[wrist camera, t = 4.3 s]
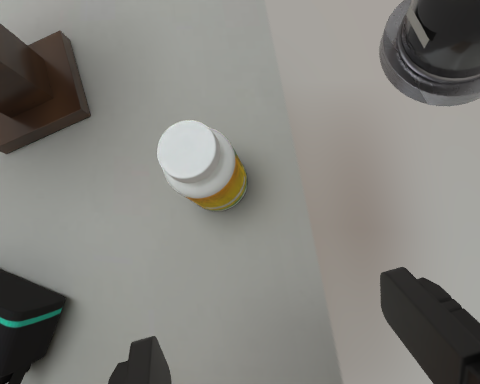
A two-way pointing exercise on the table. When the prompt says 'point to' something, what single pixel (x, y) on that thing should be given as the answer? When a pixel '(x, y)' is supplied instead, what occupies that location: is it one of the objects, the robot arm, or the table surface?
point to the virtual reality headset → (24, 325)
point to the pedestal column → (37, 89)
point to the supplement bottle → (202, 165)
